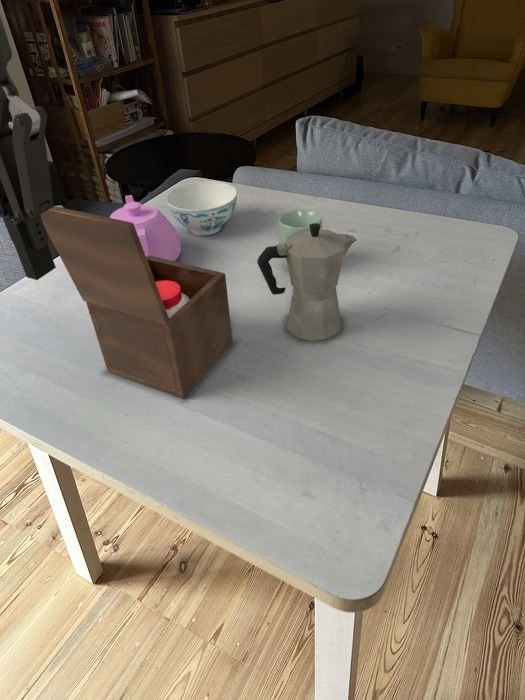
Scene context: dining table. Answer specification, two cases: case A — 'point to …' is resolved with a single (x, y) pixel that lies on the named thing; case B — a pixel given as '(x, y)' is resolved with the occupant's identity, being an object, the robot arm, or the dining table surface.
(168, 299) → the pill bottle
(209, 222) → the chinaware
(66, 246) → the lid
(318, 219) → the cup
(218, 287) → the chest
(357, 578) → the dining table surface
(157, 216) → the teapot
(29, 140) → the robot arm
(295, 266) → the coffeepot
